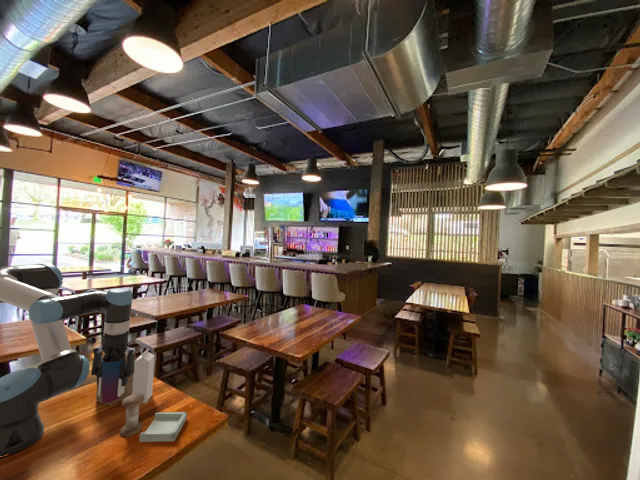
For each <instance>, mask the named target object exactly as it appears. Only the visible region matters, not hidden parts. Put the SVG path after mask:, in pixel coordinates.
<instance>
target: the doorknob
mask: <svg viewBox="0 0 640 480" xmlns="http://www.w3.org/2000/svg"><path fill="white" fill-rule="evenodd" d="M143 401H144V395H143V394H133V395H130V396H127V397H126V398H124V399H123V400H122V401H121V406H122V407H123V408H126V409H125V410H126V412H125V424H124V425H123V426H122V427H121V428H120V430H119V435H120V436H121V437H123V438H129V437H133V436H134V435H136V434H137V435H138V433H141V432H142V429H143V422H142V421H140V420H139V415H140V405H141V404H143V403H142V402H143Z"/></svg>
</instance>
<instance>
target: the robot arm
mask: <svg viewBox="0 0 640 480" xmlns="http://www.w3.org/2000/svg"><path fill="white" fill-rule="evenodd" d="M63 276H64V275H63V274H62V272H61V270H60V269H59V267H57V266H56V265H53V264H51V263H36V264H23V265H22V264H21V265H20V264H19V265H6V266H5V265H4V266H0V302H3V303H6V304H8V305H11V306H13V307H15V308H19V309H20V310H24V311H26V312H28V315H29V319H30V323H31V326H32V330H33V333H34V336H35V340H36V343H37V347H38V352H39V354H40V359H41V360H40V361H39V363H38V364H37V367H27V368H26V367H25V368H24V369H23V368H22V369H19V370H14V371H12V372H9V373H8V374H5V375H3V376H1V377H0V456H4V455H7V454H12V455H14V454H17V453H18V451H19V452H21V451H23V450H25V449H27V448H29V447H30V446H32V445H33V444H35V443H36V442H37V441H39V440H40V438H42V436H43V435H44V432H45V431H44V429H45V425H44V424H45V423H44V422H43V421H41V416H40V414H39V404H41V403H42V402H45V401H47V400H50V399H52V398H54V397H56V396H58V395H59V396H60V395H61V394H64V393H66V392H68V391H70V390H73V389H74V388H76V387H78V386H81V385H82V384H83V383H84V382H85V381H86V380H87V378H88V376H89V374H90V375H91V376H95V377H96V386H97V385H99V386H98V396H100V395H101V394H102V363H101V358H102V356H103V355H104V357H103V360H104V362H109V361H110V359H111V358H112V357H113V358H116V361H120V360H122V359H124V357H125V356H126V355H125V351H127V363H126V359H125V361H124V362H121V367H120V374H121V378H119V383H118V395H117V396H121V395H122V394H123V393H124V390H125V385H126V384H127V382H128V377H130V376H131V375H132V374H133V373H134V358H135V359H136V352H137V347H130V346H129V344H128V342H129V336H130V331H129V330H130V326H131V325H130V324H131V315H132V313H131V312H132V305H133V291H132V290H131V289H129V288H119V287H118V288H111V289H109V290H107V291H106V290H103V289H93V288H91V289H87V290H85V291H84V292H82V293H78V294H71V295H63V296H62V295H61V296H60V295H58V294H57V293H59V292H60V291H59V289H60V288H61V287H62V285H63V283H64V282H63V280H64V277H63ZM93 313H101V314H104V324H103V335H102V345H98V346H96V347H94V348H93V349H92V353H93V359H92V366H91V371H90V361H89V359H88V357H86V356H85V355H83V354H79V353H78V351H77V350H76V349H73V348H71V344H70V341H69V337H68V334H67V331H66V327H65V324H64V320H67V319H70V318H74V317H75V318H76V317H80V316H83V315H88V314H93ZM103 353H104V354H103ZM100 364H101V366H100ZM20 450H21V451H20ZM16 452H17V453H16ZM13 453H14V454H13Z"/></svg>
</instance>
